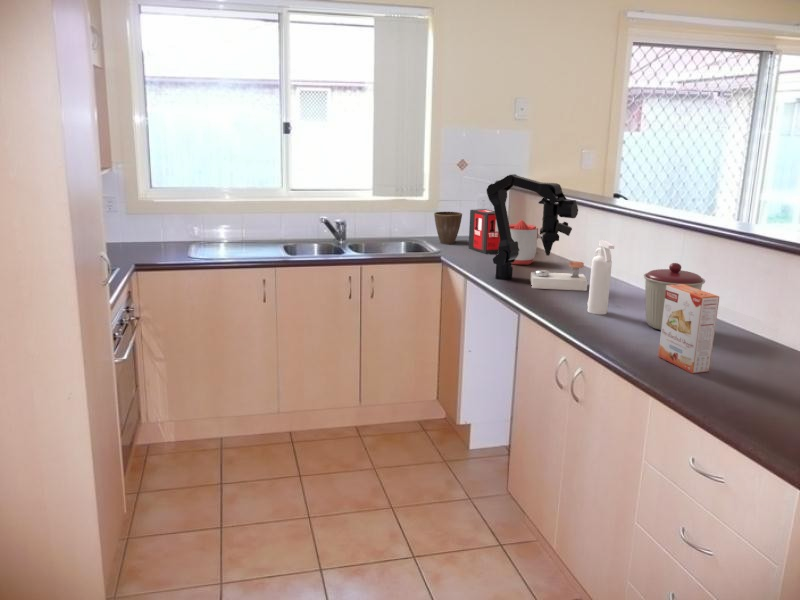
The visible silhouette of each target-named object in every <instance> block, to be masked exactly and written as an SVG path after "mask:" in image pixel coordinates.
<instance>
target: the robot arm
mask: <svg viewBox="0 0 800 600" xmlns="http://www.w3.org/2000/svg"><path fill="white" fill-rule="evenodd" d="M514 186H515V187H518V188H521V189H524V190H527V191H532V192H533V193H536V194H538V195H539V196H540V197H541V200H539V201H538V204H540V205H543V207H542V209H543V210H542V217H541V220H542V224H541V225H542V226H541V227H540V228H539V235H540V236H541V241H542V245H543V248H544V251H545V256H550V254H551V251H552V247H553V245H554V243H555V242H560V235H559V233H562V234H564V235H565V236H568V237H569V236H570V234H571V232H572V231H573V228H572V226H569V222H567V221H563V222H560V221H559V218H565V219H575V218H577V216H578V214H579V208H578V207H579V206H578V204H577V200H575V199H572V200H570V199H569V200H568V199H567V198H566V195H565V194H564V192H563V190H562V186H561V185H560V183H556V182H555V183H554V182H541V181H537V180H534V179H531V178H528V177H527V178H526V177H524V176H520V175H517V174H515V173H514V174H512V173H511V174H507V175H506V176H505V177H504V178H502V179H500V180H498V181H496V182H494V183H490V184H489V185H488V187H486V194H487V198H488V201H489V203H491V204H492V205H493V209H494V210H493V211H495V216H496V221H497V227H498V232H499V237H500V242H499V246H498V253H496V254H495V256H494V257H493V258H492V262H493V264H494V265H495V276H494V278H495V279H497V280H499V279H500V280H512V278H513V271H514V270H513V269H514V266H513V264H511V263H513V262H514V261H515V259H516V258H517V256H518V254H519V251H520V250H519V248H518V242H517V241H515V242H514V240H513V239H512V237H511V232H510V226H509V225H510V221H509V216H508V211H507V206H506V204H507V202H506V201H507V199H508V191H509V190H511V189H513V187H514ZM558 217H559V218H558Z"/></svg>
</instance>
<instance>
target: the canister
mask: <svg viewBox="0 0 800 600" xmlns="http://www.w3.org/2000/svg"><path fill="white" fill-rule="evenodd" d="M668 267H669V269H668V268H667V269H666V268H660V269H659V268H658V269H652V270H650V271H649V272H645V273H644V274H643V278H644V279H645V281H644V282H645V284H644V287H645V318H646V323H647V325H649V326H650V327H651V328H653V329H655V330H659V331H661V328H662V319H663V311H664V302H665V293H666V285H677V284H684V285H687V286H690V287H693V288H696V289H699V290H702V287H703V285H704V284H705V283H706V280H705V279H704V278H703V277H702V276H700V275H699V274H698V273H695V272H691V271H686V270H682V265H681V264H680V263H677V262H673V263H671V264H669V266H668Z"/></svg>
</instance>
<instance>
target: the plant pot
mask: <svg viewBox="0 0 800 600" xmlns="http://www.w3.org/2000/svg"><path fill="white" fill-rule="evenodd" d="M433 215H434V216H433V217H434V222H435V228H436V233H437V236H438V239H439V242H440V244H443V245H453V244H455V242H456V240H457V237H458V234H459V231H460V228H461V223H462V218H463V213H462V212H460V211H459V212H458V211H436V212H434V214H433Z"/></svg>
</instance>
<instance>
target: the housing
mask: <svg viewBox="0 0 800 600" xmlns="http://www.w3.org/2000/svg"><path fill="white" fill-rule="evenodd" d="M529 282H530V285H532V286H531V289H545V290H546V289H547V290H565V291H566V290H567V291H584V292H585V291H587V290H588V279H587V277H586V275H585V274H584V273H579V276H572V273H569V272H568V273H567V272H566V273H564V272H561V273H559V272H549V276H547V277H540V276H536V275H535V271H531V272H530V281H529Z"/></svg>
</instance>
